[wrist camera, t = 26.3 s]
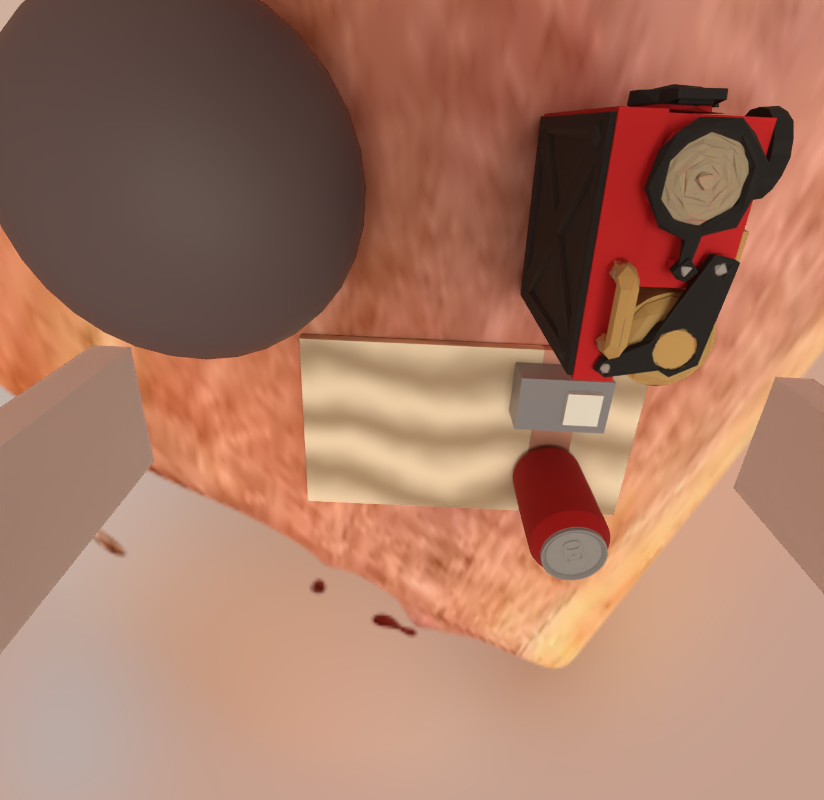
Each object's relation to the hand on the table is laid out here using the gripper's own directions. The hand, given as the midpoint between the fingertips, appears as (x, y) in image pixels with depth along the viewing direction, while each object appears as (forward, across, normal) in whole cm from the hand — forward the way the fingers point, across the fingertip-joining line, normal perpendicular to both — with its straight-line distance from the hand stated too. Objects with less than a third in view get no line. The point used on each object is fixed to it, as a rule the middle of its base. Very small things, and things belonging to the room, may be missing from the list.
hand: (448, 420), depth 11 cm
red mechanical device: (+37, +13, 0) cm, 39 cm away
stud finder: (+36, +13, -16) cm, 41 cm away
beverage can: (+36, +13, -25) cm, 45 cm away
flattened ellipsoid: (+37, -17, +1) cm, 41 cm away
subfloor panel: (+37, +5, -21) cm, 43 cm away
